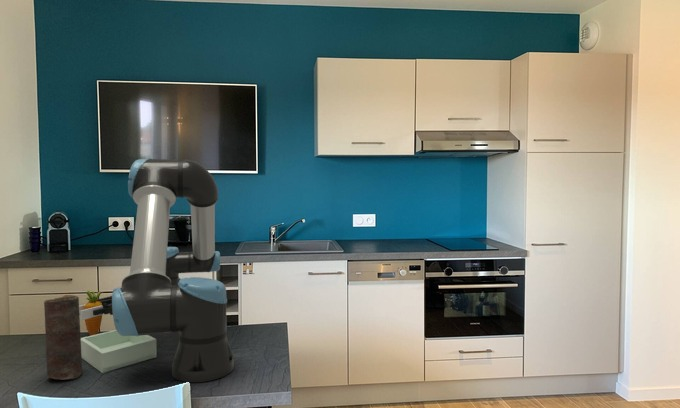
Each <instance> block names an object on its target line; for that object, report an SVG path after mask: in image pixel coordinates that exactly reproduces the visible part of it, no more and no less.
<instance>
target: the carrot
mask: <svg viewBox="0 0 680 408" xmlns="http://www.w3.org/2000/svg"><path fill="white" fill-rule="evenodd" d="M85 293H86V295H87V296H88V297H86V298H85V300H87V302H86V303H85V304H86V305H85V304H84V305H85V306H84V310H85V309H89V308H93V307H97V306H101V305H102V303H101V302H99V301H97V299H100V298H99V297H100V296H101V294H102V293H103V292H102V291H98V293H95V292H94V291H90V290H87V291H86V292H85ZM89 301H90V302H89ZM102 320H103V315H99V316H96V317H92V318H88V319H84V322H85V327H86V331H87V332H88V335H89V336H92V335H96V334H99V331H100V329H101V325H102Z"/></svg>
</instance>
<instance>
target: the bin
mask: <svg viewBox="0 0 680 408" xmlns="http://www.w3.org/2000/svg"><path fill="white" fill-rule="evenodd" d="M81 354H82V360H84V361H85V362H86V363H88V364H89V365H90V366H92V367H93V368H95V369H96V370H97V371H99V372H100V373H102V374H105V373H108V372H110V371H114V370H117V369H121V368H124V367H125V368H126V367H128V366H132V365H134V364H137V363H141V362H145V361H148V360H151V359H154V358H157V357H158V356H157V338H155V337H153V336H151V335H141V336H121V335H120V334H118V332H117V331H116V329H114V330H110V331H109V330H108V331H105V332H101V333H98V334H96V335H92V336H90V335H89V336H84V337H81Z"/></svg>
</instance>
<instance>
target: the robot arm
mask: <svg viewBox="0 0 680 408" xmlns="http://www.w3.org/2000/svg"><path fill="white" fill-rule="evenodd" d="M127 189H128V195H129V196H130V197H131V198H132V199H133V202H134V203H135V204H136V205H137V209H136V217H135V219H136V220H135V226H134V235H133V242H132V252H131V258H130V259H131V260H130V261H131V262H130V269H129V274H127V275H126V276H124V277H123V278H122V282H121V286H119V287H116V288H114V289H113V290H112V294H111V295H110V296H106V297H101V298H98V299H97V301H99V302H101V303H102V305H101V306H97V307H93V308H89V309H85V310H84V306H85V305H86V304H87V303H85V304H81V305H79V315H80V320H81V321H83V320H84V321H85V319H88V318H92V317H96V316H99V315H102V316H103V315H108V314H109V315H110V316H112V317H113V318H112V319H113V324H114V328H115V330H116V331H117V332H118V334H120V335H121V336H141V335H149V336H151V335H160V334H161V335H162V334H172V333H174V334H175V333H178V336H179V337H178V345H177V348H176V351H175V354H174V358H173V361H172V363H171V375H172V377H173V378H174V379H176V380H178V381H181V382H185V383H203V382H204V383H205V382H210V381H214V380H217V379H221V378H224V377H226V376H227V375H229V374H231V372H232V371H233V370H234V368H235V361H234V355H233V353H232V350H231V346H230V344H229V341H228V337H227V336H228V335H227V331H228V329H227V327H228V326H227V324H228V323H227V303H228V299H227V288H226V285H225V284H224V283H223V282H221V281H219V280H217V279H214V278H209V277H208V278H207V277H200V276H199V277H195V276H193V277H192V276H191V277H183V278H180V277H179V274H190V273H195V274H196V273H212V272H213V273H214V272H218V271H220V269H221V252H220V251H219V250H218V251H217V250H216V244H215V243H216V240H215V239H216V238H215V237H216V232H215V231H216V227H215V226H216V220H215V219H216V218H215V216H216V214H215V213H216V208H215V207H216V203H218V200H219V189H218V185H217V183H216V181H215V179H214V177H213V175H212V174H211V173H210V172H209V171H208V169H207V168H205V166H204V165H202V164H200V163H199V162H196V161H194V160H190V159H167V158H166V159H164V158H163V159H162V158H161V159H159V158H158V159H157V158H151V157H150V158H141V159H136V160H134V162H133V163H132V164H131V165H130V169H129V174H128V181H127ZM180 198H182V199H183V198H186V201H187V203H188V204H189V205H190V219H191V222H190V223H191V239H192V241H191V242H192V244H191V245H192V251H185V252H184V251H180V250H179V248H178V247H176V246H168V243H169V242H168V241H169V227H170V212H171V211H170V210H171V209H170V208H171V207H173V206H174V205H175V203H176V200H177V199H180ZM88 302H90V301H89V300H88Z"/></svg>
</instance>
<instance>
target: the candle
mask: <svg viewBox="0 0 680 408" xmlns="http://www.w3.org/2000/svg"><path fill="white" fill-rule="evenodd" d="M79 298H80V297H79V296H78V295H75V294H65V295H63V296H61V297H60V296H59V297H56V298H53V299H52V298H50V299H46V300H44V302H43V304H44V305H43V306H44V327H45V330H44V331H45V354H46V355H45V356H46V357H45V358H46V376H47V378H49V379H54V380H61V381H62V380H63V381H64V380H74V379H77V378H79V377H80V376H82V374H83V359H82V354H81V338H82V337H81V321H80V315H79V306H80V299H79Z"/></svg>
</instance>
